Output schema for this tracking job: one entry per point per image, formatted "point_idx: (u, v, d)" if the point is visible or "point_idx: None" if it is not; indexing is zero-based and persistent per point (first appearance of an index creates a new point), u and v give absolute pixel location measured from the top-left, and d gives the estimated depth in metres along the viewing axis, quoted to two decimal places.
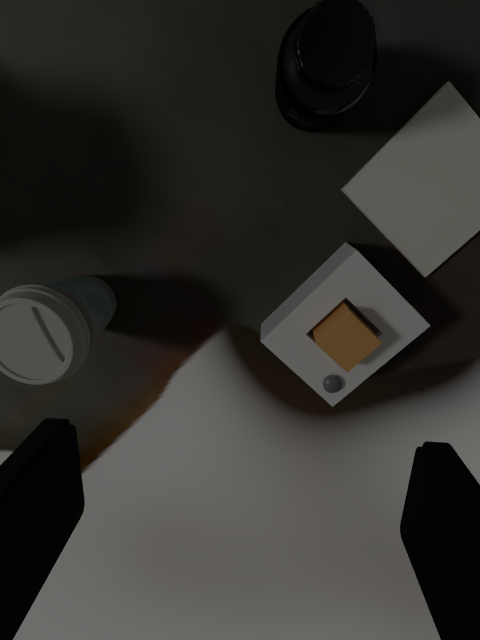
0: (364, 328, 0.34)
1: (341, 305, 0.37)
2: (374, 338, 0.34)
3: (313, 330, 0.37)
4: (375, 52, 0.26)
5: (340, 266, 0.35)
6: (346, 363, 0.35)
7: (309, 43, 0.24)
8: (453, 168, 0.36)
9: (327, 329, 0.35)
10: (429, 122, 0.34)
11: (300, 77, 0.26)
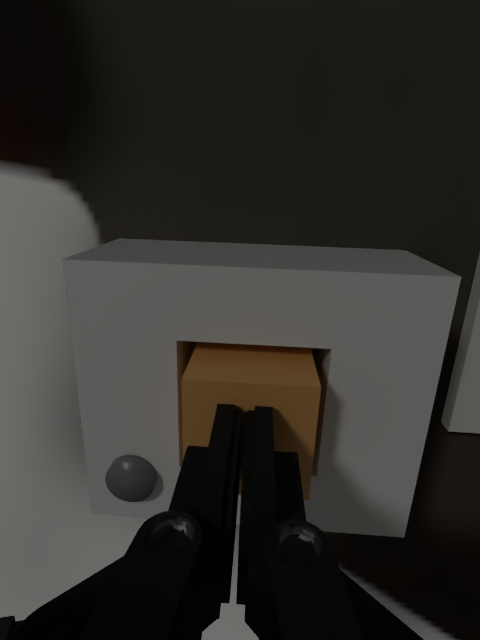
0: (309, 443, 0.12)
1: None
2: (305, 479, 0.12)
3: None
4: None
5: (393, 276, 0.12)
6: None
7: None
8: None
9: (233, 368, 0.12)
10: None
11: None
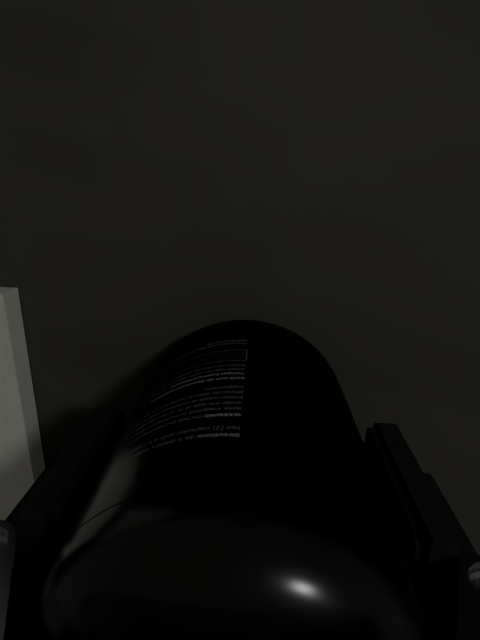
0: None
1: None
2: None
3: None
4: None
5: None
6: None
7: None
8: None
9: None
10: (6, 510, 0.16)
11: None
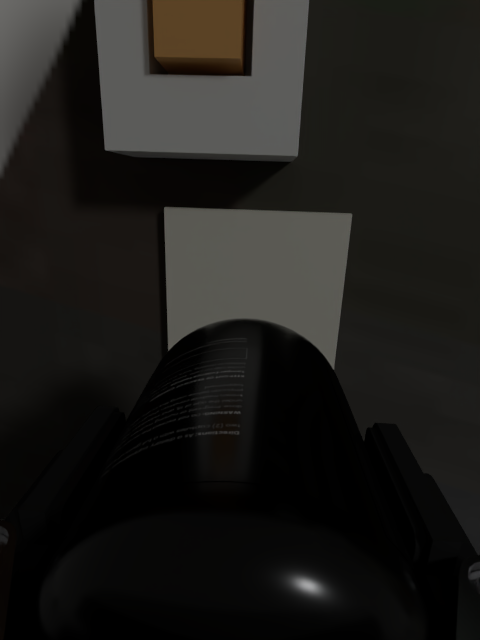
0: (199, 54, 0.18)
1: (243, 68, 0.21)
2: (171, 53, 0.18)
3: None
4: None
5: (299, 113, 0.20)
6: None
7: None
8: None
9: None
10: (317, 344, 0.28)
11: None
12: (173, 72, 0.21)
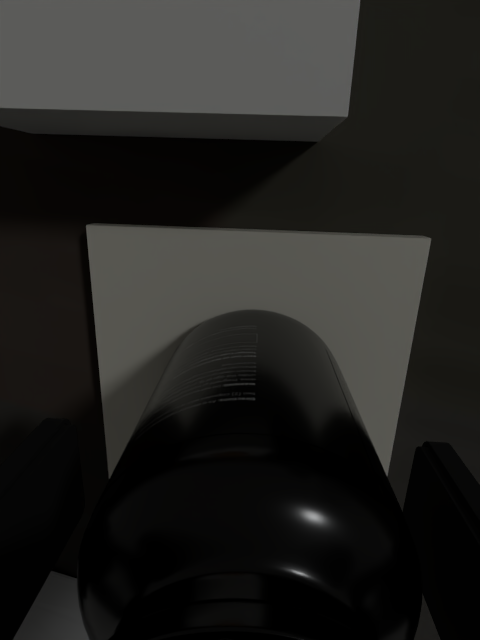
0: None
1: None
2: None
3: None
4: None
5: (355, 11, 0.08)
6: None
7: None
8: None
9: None
10: None
11: (280, 634, 0.05)
12: None
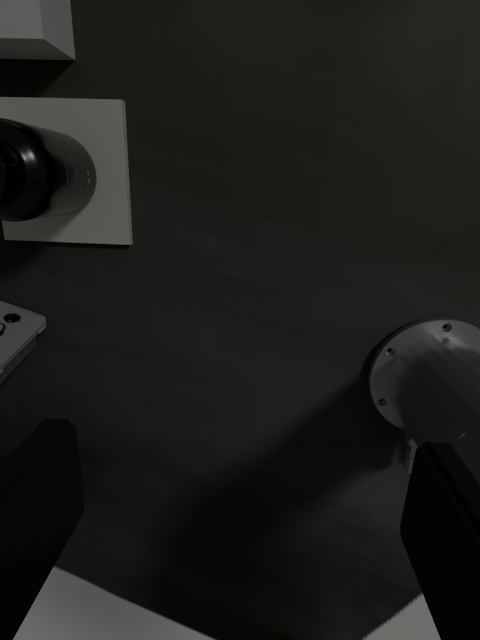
0: None
1: None
2: None
3: None
4: None
5: (39, 6, 0.28)
6: None
7: None
8: None
9: None
10: (113, 209, 0.36)
11: None
12: None
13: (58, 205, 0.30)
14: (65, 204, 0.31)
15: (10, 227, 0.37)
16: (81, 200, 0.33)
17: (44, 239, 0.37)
